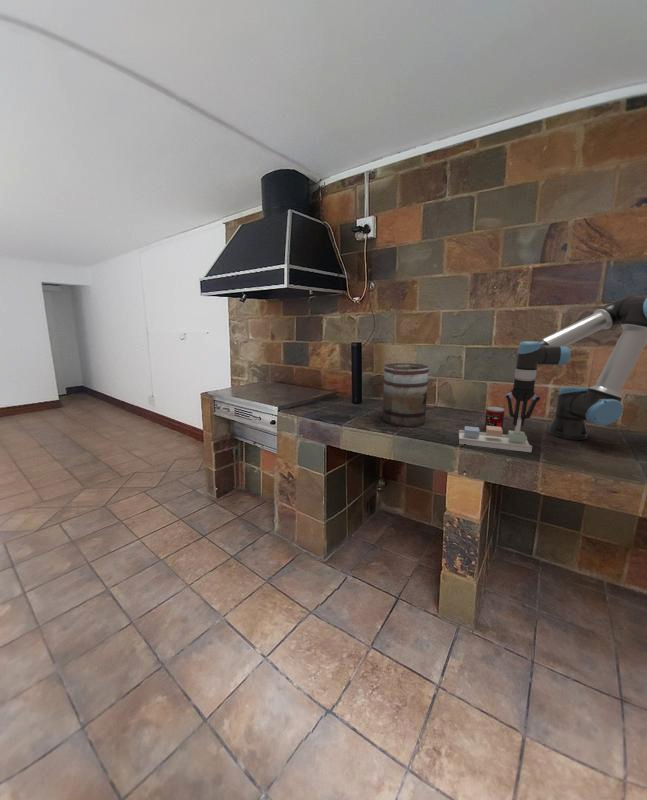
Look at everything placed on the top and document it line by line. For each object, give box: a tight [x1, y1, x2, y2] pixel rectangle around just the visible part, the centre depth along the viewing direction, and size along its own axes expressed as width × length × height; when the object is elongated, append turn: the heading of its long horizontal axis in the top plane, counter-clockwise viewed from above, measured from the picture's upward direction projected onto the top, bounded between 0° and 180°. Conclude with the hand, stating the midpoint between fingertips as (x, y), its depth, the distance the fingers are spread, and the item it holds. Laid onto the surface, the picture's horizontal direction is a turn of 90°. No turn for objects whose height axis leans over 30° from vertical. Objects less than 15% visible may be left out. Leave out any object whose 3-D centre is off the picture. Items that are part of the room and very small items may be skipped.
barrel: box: [382, 362, 430, 429], centre depth 179 cm, size 22×22×30 cm
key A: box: [507, 430, 527, 442], centre depth 146 cm, size 6×6×3 cm
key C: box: [463, 425, 481, 437], centre depth 152 cm, size 6×6×3 cm
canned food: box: [484, 406, 505, 431], centre depth 166 cm, size 8×8×11 cm
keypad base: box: [458, 429, 533, 453], centre depth 150 cm, size 28×12×3 cm, turn 69°
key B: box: [485, 426, 504, 437], centre depth 149 cm, size 6×6×3 cm
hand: (517, 432), depth 145 cm, fingers closed
